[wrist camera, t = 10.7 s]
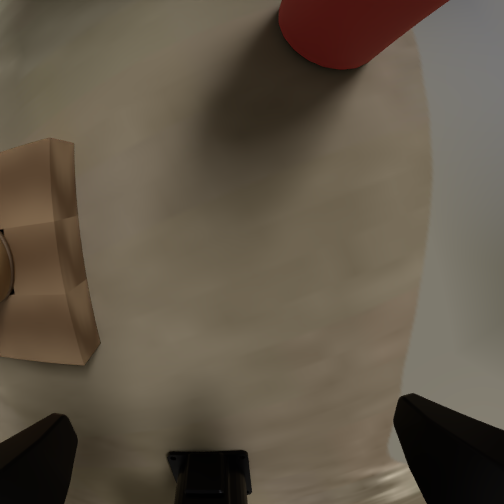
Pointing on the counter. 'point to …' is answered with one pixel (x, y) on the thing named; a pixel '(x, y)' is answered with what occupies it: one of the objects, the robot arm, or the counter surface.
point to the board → (44, 257)
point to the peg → (6, 268)
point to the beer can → (348, 27)
